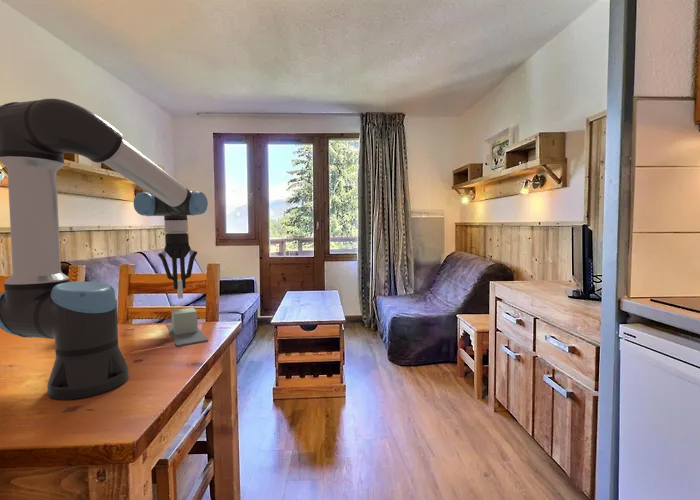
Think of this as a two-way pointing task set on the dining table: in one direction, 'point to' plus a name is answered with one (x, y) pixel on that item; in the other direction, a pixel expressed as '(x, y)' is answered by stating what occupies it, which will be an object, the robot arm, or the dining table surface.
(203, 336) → the mat
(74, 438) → the dining table surface
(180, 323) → the block
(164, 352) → the dining table surface
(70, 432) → the dining table surface
